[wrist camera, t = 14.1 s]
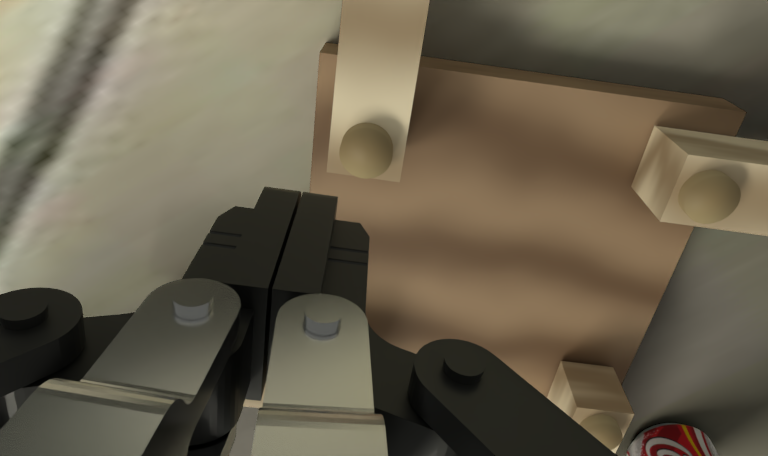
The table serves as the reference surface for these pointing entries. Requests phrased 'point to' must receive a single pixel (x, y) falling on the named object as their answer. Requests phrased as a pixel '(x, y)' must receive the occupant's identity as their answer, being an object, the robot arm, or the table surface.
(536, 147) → the stool seat
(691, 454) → the soda can
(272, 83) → the table surface
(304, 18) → the table surface
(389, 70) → the stool leg
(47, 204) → the table surface
